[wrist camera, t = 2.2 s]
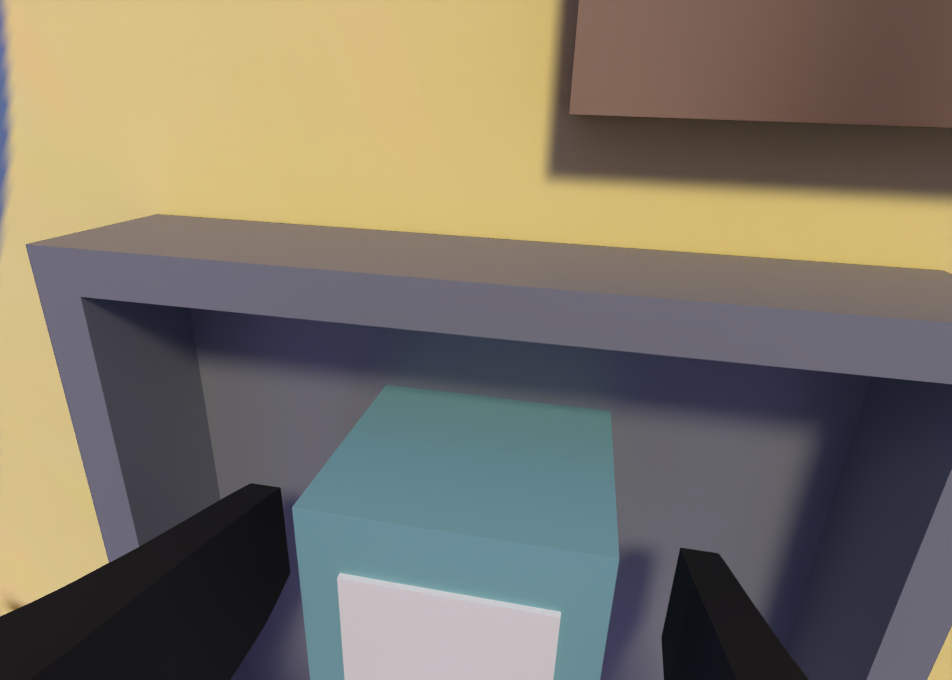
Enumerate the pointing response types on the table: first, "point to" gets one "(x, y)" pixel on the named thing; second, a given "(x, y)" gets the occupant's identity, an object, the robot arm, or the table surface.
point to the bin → (545, 381)
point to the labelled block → (461, 542)
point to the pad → (766, 60)
